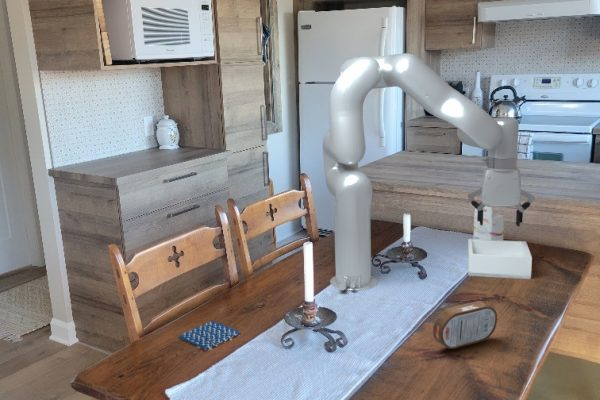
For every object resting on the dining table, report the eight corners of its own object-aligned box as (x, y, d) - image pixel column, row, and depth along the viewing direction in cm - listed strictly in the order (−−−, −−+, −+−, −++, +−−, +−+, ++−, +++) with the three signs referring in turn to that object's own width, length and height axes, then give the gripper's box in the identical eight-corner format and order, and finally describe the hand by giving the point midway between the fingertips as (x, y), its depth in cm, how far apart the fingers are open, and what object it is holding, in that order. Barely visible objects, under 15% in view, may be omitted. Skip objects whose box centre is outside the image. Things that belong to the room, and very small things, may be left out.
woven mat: (175, 344, 125) (174, 335, 125) (212, 327, 133) (212, 318, 133) (205, 358, 119) (205, 349, 118) (243, 339, 126) (243, 331, 126)
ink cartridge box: (503, 253, 175) (505, 206, 172) (490, 255, 173) (492, 208, 170) (485, 245, 183) (486, 200, 180) (472, 248, 181) (473, 202, 178)
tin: (488, 332, 124) (490, 296, 122) (499, 338, 121) (500, 301, 120) (431, 348, 118) (432, 310, 117) (440, 354, 116) (441, 315, 114)
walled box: (530, 279, 153) (532, 257, 152) (468, 275, 158) (469, 254, 156) (524, 261, 168) (526, 241, 166) (467, 258, 172) (468, 239, 170)
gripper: (468, 165, 155) (467, 227, 159) (537, 166, 150) (534, 229, 154) (468, 161, 162) (466, 220, 166) (534, 161, 157) (531, 222, 161)
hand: (499, 224), depth 160 cm, fingers open, 9 cm apart
